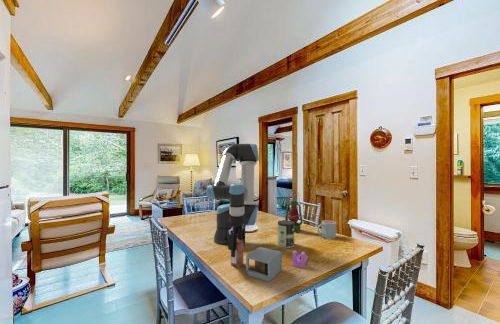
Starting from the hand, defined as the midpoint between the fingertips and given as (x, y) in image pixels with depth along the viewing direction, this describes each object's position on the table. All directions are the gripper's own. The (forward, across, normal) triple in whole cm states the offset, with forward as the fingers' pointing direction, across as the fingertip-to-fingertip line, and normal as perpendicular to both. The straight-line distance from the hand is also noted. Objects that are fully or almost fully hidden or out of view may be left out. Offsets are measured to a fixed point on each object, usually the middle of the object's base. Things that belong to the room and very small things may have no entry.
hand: (237, 260), depth 113 cm
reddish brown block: (+2, 0, -7) cm, 7 cm away
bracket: (+2, +20, -27) cm, 33 cm away
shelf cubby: (+2, 0, -15) cm, 15 cm away
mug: (+2, +67, -30) cm, 73 cm away
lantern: (+2, +69, -6) cm, 69 cm away
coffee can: (+2, +38, -12) cm, 40 cm away
